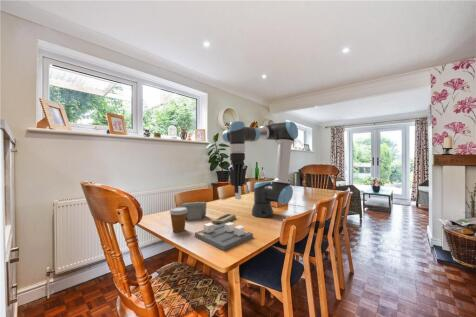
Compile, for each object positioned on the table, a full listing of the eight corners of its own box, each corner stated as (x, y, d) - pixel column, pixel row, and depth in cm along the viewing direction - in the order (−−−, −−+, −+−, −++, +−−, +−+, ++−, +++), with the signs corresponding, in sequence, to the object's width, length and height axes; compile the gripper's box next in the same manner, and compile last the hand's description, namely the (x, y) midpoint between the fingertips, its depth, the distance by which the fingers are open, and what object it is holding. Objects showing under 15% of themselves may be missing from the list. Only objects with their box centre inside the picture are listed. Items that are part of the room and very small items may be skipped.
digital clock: (206, 215, 140) (206, 200, 140) (205, 219, 131) (205, 203, 131) (182, 216, 138) (182, 200, 138) (180, 220, 129) (180, 204, 129)
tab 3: (239, 231, 104) (239, 225, 104) (244, 233, 102) (244, 226, 102) (233, 234, 101) (233, 227, 101) (239, 236, 99) (239, 228, 99)
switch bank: (223, 226, 118) (223, 223, 118) (252, 237, 103) (252, 233, 103) (194, 236, 104) (194, 232, 104) (223, 250, 89) (223, 246, 89)
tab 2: (229, 228, 109) (229, 222, 109) (234, 230, 107) (234, 223, 107) (224, 230, 106) (224, 223, 106) (228, 232, 104) (228, 225, 104)
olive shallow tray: (225, 217, 138) (225, 212, 138) (236, 219, 134) (236, 214, 134) (211, 224, 124) (211, 218, 124) (222, 226, 120) (222, 220, 120)
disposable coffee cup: (165, 232, 110) (165, 210, 110) (176, 226, 119) (176, 205, 119) (180, 234, 107) (180, 211, 107) (190, 228, 116) (190, 207, 115)
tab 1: (209, 229, 108) (209, 222, 108) (214, 230, 106) (214, 224, 106) (203, 231, 105) (203, 224, 105) (207, 233, 103) (207, 226, 103)
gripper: (240, 152, 110) (241, 195, 111) (222, 152, 100) (223, 200, 101) (251, 152, 105) (252, 197, 105) (233, 152, 95) (234, 202, 96)
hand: (238, 198), depth 103 cm, fingers closed
